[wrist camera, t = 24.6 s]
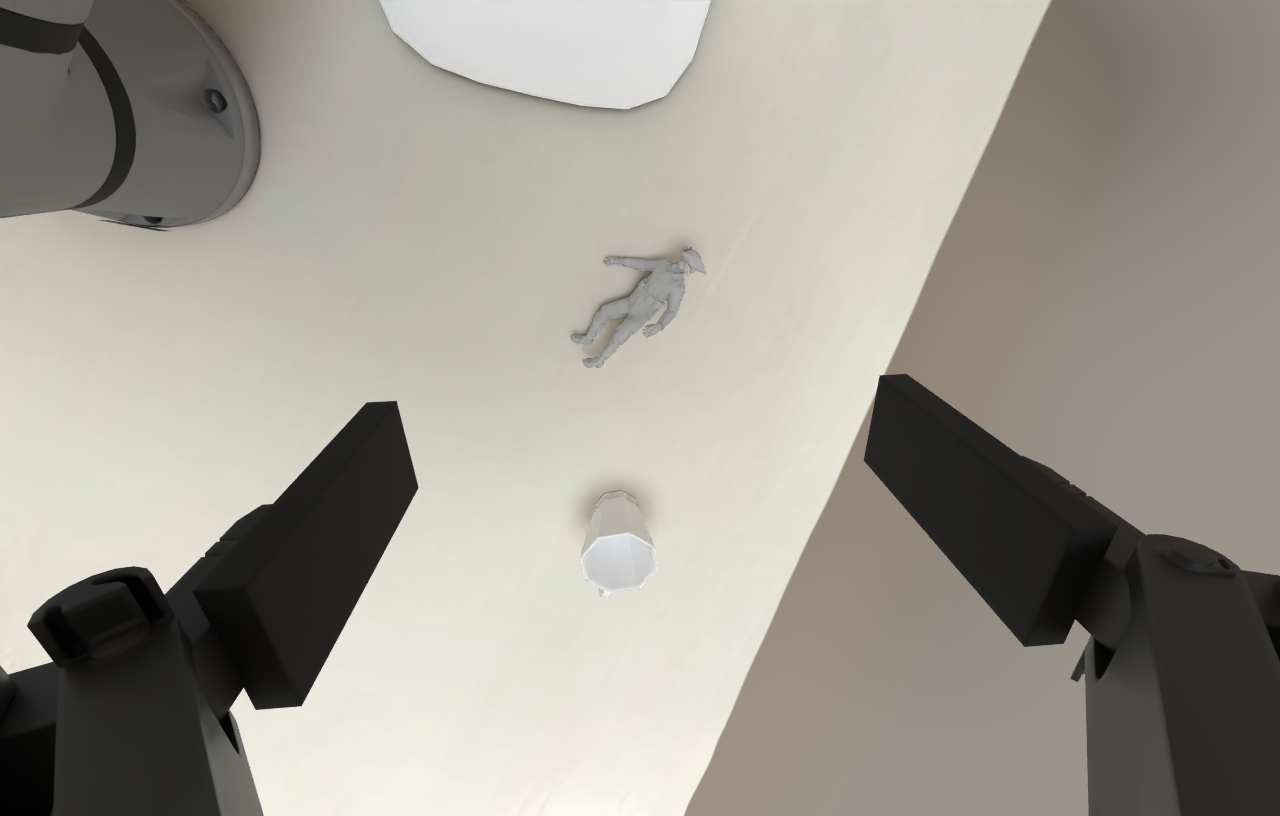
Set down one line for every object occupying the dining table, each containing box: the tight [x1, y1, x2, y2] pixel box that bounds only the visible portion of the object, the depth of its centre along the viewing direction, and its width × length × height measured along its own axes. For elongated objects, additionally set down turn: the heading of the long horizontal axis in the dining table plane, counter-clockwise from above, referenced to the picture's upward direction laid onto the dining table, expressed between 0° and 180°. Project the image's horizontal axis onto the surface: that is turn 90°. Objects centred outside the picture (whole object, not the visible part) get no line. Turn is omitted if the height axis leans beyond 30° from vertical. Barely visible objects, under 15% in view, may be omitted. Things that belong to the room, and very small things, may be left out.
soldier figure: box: [571, 247, 706, 368], centre depth 42 cm, size 8×5×12 cm
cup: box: [580, 491, 658, 598], centre depth 50 cm, size 7×10×8 cm
